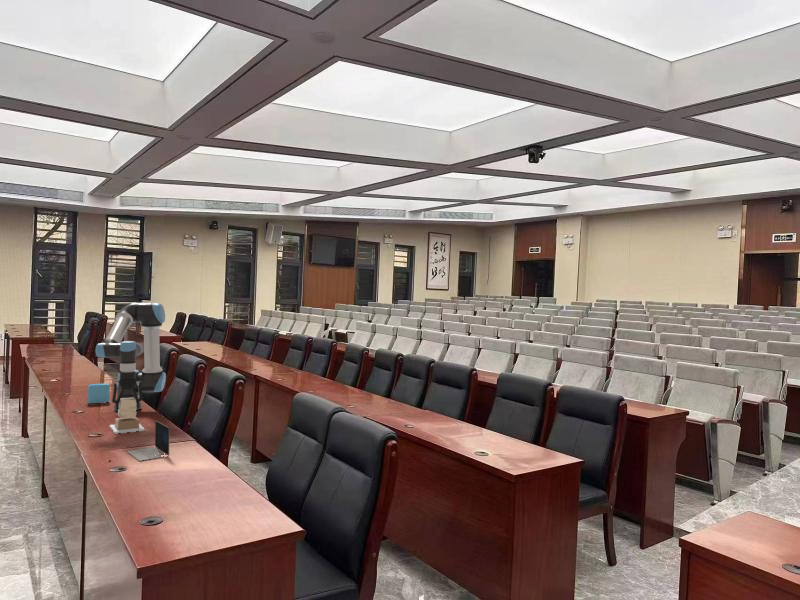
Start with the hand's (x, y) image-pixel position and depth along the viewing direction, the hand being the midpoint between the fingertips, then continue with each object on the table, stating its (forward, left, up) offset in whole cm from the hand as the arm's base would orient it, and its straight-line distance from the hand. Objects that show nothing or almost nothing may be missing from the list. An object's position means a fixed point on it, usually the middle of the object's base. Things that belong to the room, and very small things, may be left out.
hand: (127, 415), depth 308 cm
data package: (-50, -63, -7) cm, 80 cm away
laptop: (+36, +41, -8) cm, 55 cm away
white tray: (0, 0, -7) cm, 7 cm away
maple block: (0, 0, -1) cm, 1 cm away
